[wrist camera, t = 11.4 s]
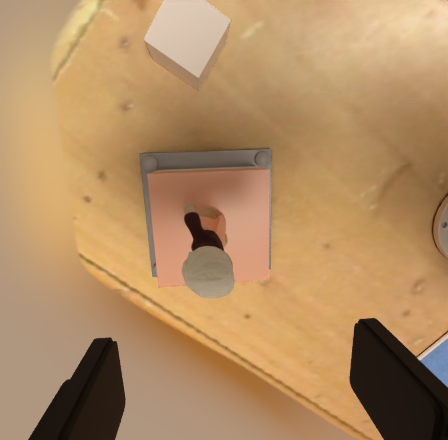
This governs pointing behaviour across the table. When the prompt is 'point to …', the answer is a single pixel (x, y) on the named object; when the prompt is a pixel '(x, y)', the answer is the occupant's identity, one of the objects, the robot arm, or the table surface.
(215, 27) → the white cube
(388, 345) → the robot arm
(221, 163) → the pink framed box
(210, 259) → the grandmother figurine
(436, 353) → the tablet computer
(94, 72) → the table surface
